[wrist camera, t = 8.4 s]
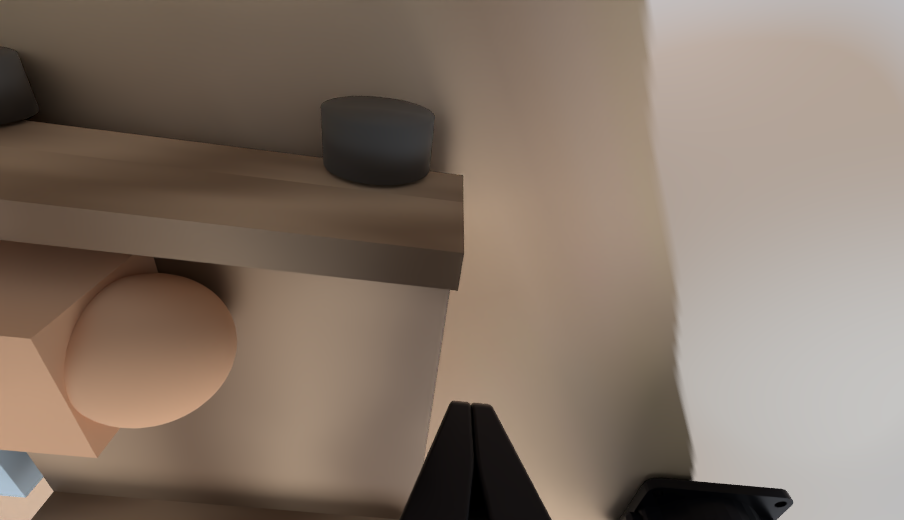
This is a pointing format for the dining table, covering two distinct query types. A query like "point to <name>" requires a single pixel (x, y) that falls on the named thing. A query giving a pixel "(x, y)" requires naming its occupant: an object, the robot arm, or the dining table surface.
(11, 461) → the tailgate
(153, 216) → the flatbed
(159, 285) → the cube with rounded ends
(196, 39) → the dining table surface
